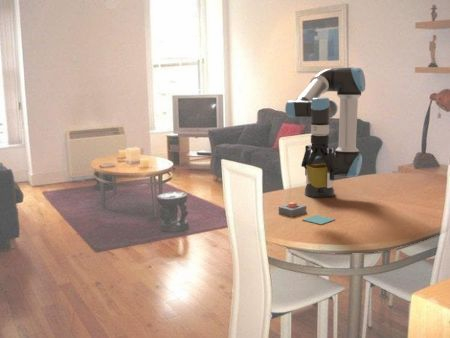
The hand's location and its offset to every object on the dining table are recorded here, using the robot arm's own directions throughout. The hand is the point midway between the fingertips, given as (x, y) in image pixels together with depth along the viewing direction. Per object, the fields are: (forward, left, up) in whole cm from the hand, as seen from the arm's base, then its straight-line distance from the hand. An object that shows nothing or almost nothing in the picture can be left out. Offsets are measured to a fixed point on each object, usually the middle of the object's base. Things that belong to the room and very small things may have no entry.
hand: (319, 185), depth 229 cm
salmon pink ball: (-1, -16, -15) cm, 22 cm away
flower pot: (0, 0, -1) cm, 1 cm away
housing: (-1, -16, -16) cm, 22 cm away
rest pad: (0, 0, -16) cm, 16 cm away
